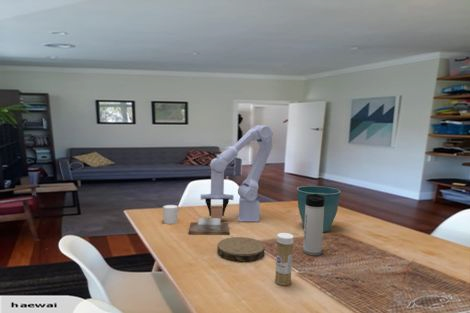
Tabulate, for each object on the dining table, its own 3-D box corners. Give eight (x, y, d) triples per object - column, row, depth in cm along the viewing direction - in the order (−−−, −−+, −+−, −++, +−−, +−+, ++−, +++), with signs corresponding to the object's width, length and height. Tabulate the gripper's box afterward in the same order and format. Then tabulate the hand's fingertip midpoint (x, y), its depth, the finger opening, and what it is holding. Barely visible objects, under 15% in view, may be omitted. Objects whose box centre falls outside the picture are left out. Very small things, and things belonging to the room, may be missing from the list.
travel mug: (322, 250, 115) (325, 194, 113) (320, 256, 109) (324, 198, 107) (304, 247, 117) (307, 192, 115) (301, 254, 111) (305, 196, 109)
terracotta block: (222, 217, 148) (222, 206, 148) (222, 220, 143) (222, 209, 143) (211, 217, 148) (211, 206, 147) (210, 220, 143) (211, 209, 142)
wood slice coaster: (258, 266, 101) (258, 257, 100) (210, 259, 105) (210, 250, 105) (268, 248, 116) (268, 240, 116) (225, 242, 120) (226, 234, 120)
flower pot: (290, 231, 136) (292, 190, 134) (299, 220, 152) (301, 184, 151) (336, 237, 129) (338, 195, 127) (339, 225, 146) (341, 188, 144)
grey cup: (180, 220, 145) (180, 205, 145) (176, 224, 139) (176, 208, 138) (165, 219, 146) (165, 204, 145) (160, 223, 139) (160, 207, 139)
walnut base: (228, 225, 140) (228, 217, 140) (229, 234, 128) (229, 225, 128) (190, 225, 139) (190, 216, 139) (188, 234, 127) (188, 225, 127)
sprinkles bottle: (271, 282, 90) (273, 234, 89) (280, 276, 93) (282, 231, 92) (285, 287, 87) (288, 239, 86) (294, 282, 91) (296, 235, 89)
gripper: (200, 186, 140) (199, 217, 141) (234, 187, 141) (233, 218, 142) (201, 183, 147) (200, 213, 148) (233, 184, 148) (232, 213, 149)
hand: (216, 215), depth 145 cm, fingers closed on terracotta block, 5 cm apart
